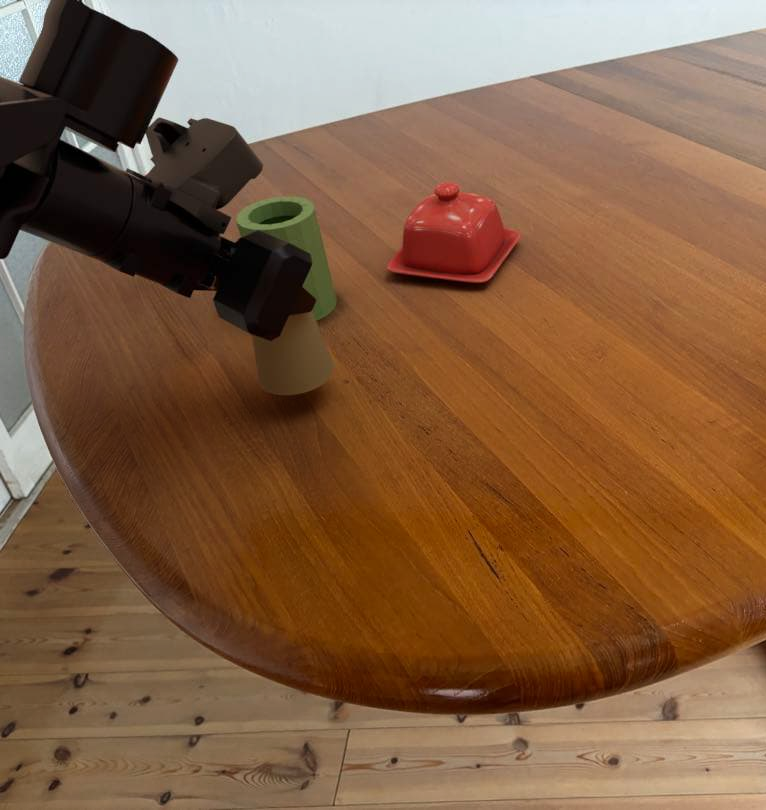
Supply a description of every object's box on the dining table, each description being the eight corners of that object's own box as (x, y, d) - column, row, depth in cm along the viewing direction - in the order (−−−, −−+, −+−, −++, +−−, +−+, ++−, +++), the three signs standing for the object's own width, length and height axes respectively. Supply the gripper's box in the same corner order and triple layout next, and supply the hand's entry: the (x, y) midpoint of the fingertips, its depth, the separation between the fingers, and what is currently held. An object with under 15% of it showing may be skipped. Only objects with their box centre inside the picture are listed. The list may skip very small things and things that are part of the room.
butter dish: (487, 294, 80) (479, 213, 75) (382, 281, 83) (367, 203, 78) (526, 241, 89) (520, 165, 83) (429, 231, 92) (418, 157, 87)
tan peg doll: (341, 351, 69) (313, 230, 62) (325, 394, 64) (293, 268, 57) (270, 353, 69) (234, 233, 62) (249, 396, 64) (208, 271, 58)
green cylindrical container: (265, 332, 77) (235, 234, 71) (264, 296, 82) (236, 203, 76) (339, 318, 78) (316, 221, 72) (334, 284, 83) (311, 191, 77)
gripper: (246, 119, 45) (418, 230, 58) (85, 70, 55) (263, 175, 68) (163, 302, 45) (354, 372, 59) (16, 221, 55) (208, 296, 68)
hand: (292, 295), depth 63 cm, fingers closed on tan peg doll, 5 cm apart
